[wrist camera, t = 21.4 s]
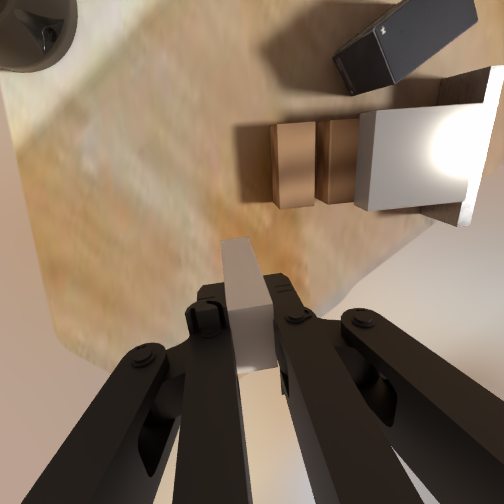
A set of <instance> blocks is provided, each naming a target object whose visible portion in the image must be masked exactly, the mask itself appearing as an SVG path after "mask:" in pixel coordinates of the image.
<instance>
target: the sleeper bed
mask: <svg viewBox="0 0 504 504" xmlns="http://www.w3.org/2000/svg"><path fill="white" fill-rule="evenodd" d="M359 121H360V118H356V119H342V120H330V121H324V122H317V170H316V198H317V199H319V200H321V201H322V202H324V203H326V204H328V205H329V204H339V203H349V202H354V194H355V180H356V165H357V150H358V136H359ZM270 142H271V166H272V189H273V203H274V204H275V205H276V206H277V207H278V208H279V209H290V208H300V207H310V206H314V193H315V122H301V123H288V124H276V125H272V126H270Z"/></svg>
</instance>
